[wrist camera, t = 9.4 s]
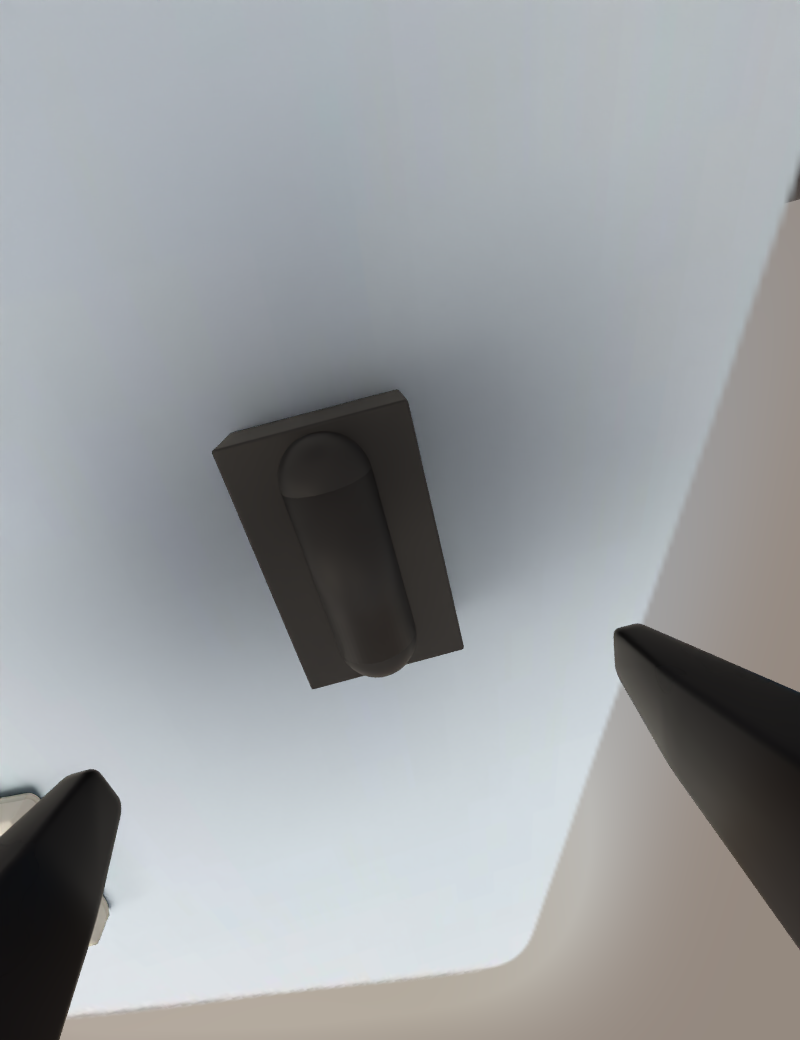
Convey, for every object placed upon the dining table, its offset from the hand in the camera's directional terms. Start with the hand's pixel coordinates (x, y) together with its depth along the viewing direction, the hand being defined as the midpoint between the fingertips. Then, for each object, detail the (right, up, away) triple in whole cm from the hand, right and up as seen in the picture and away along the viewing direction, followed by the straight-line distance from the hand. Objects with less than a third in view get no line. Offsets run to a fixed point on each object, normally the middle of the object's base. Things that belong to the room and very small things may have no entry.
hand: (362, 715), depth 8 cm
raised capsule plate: (-1, +3, +7) cm, 8 cm away
